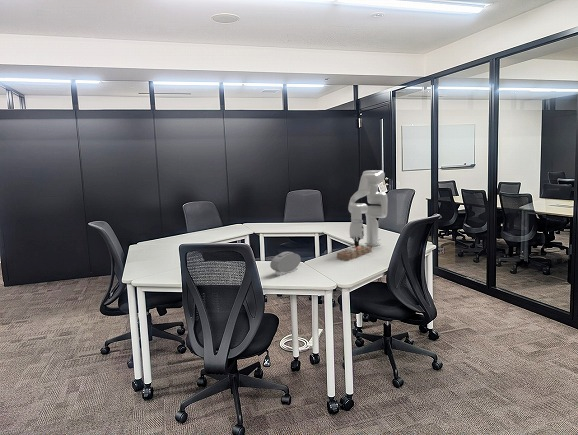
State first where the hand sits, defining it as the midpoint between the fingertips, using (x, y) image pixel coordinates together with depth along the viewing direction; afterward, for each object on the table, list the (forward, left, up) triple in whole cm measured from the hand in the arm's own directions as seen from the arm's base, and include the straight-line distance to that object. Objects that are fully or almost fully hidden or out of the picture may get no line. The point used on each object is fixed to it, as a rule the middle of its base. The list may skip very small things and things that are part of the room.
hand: (356, 246), depth 312 cm
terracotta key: (0, 0, -4) cm, 4 cm away
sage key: (-8, 0, -4) cm, 9 cm away
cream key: (+8, 0, -4) cm, 8 cm away
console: (+3, 0, -6) cm, 7 cm away
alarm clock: (+66, -13, -6) cm, 67 cm away
